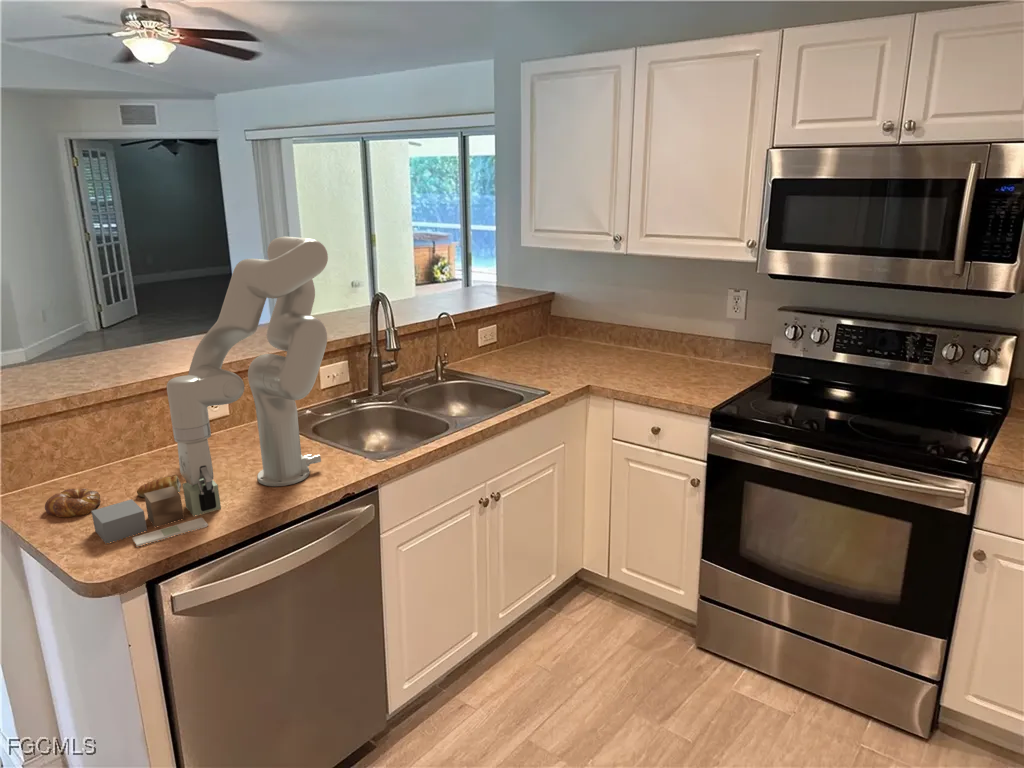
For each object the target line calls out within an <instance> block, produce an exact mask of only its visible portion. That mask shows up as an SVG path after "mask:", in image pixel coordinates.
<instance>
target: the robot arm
mask: <svg viewBox="0 0 1024 768" xmlns="http://www.w3.org/2000/svg"><path fill="white" fill-rule="evenodd" d="M266 252H267V253H266V254H267V258H268V259H262V258H245V259H242V260H241V261H239V262H238V263H237V264H236V265H235V267H234V268H233V272H232V274H231V278H230V280H229V284H228V288H227V290H226V294H225V297H224V300H223V303H222V306H221V310H220V313H219V314H218V315H219V316H218V318H217V321H216V322H215V323H214V324H213V325H212V326H211V327H210V329H208V331H207V332H206V334H205V335H204V336H203V337H202V339H201V340H200V342H199V343H198V344H197V346H196V349H195V351H194V354H193V356H192V360H191V362H190V365H189V368H188V369H189V370H188V374H187V375H180V376H175V377H173V378H171V379H169V380H168V381H167V383H166V394H167V400H168V406H169V413H170V420H171V425H172V432H173V440H174V442H175V443H177V454H178V463H179V473H180V475H181V476H182V478H184V480H185V483H187V482H188V483H189V484H190V485H192V486H194V485H195V484H197V485H198V488H199V491H200V494H199V500H200V507H201V510H202V511H206V510H209V509H213V508H216V500H215V493H214V488H213V485H212V480H213V481H214V469H213V468H214V467H213V463H212V456H211V455H212V454H211V451H210V445H209V442H208V441H209V440H208V439H209V438H211V436H212V431H211V423H210V418H209V417H210V416H209V408H208V407H212V406H221V405H222V406H223V405H229V404H233V403H235V402H236V401H238V400H239V399H240V398H241V397H242V396H243V394H244V392H245V383H244V380H243V379H242V377H241V376H239V374H237V373H235V372H233V371H230V370H227V369H223V368H222V366H223V364H224V361H225V358H226V357H227V355H228V353H229V351H230V350H231V349H232V348H233V347H234V346H235V345H236V344H237V343H239V342H241V341H244V340H245V339H247V338H249V337H250V336H252V335H254V334H255V333H256V332H257V330H258V327H259V324H260V321H261V317H262V314H263V311H264V308H265V304H266V301H267V299H276V300H275V305H274V307H273V310H272V314H271V317H270V319H269V323H268V327H267V330H266V339H267V342H268V343H269V345H270V346H272V347H273V348H275V349H277V350H280V351H284V352H286V354H285V356H283V355H279V354H274V353H265V354H261V355H259V356H256V357H255V358H254V359H253V360H252V361H251V363H250V364H249V366H248V370H247V379H248V384H249V388H250V390H251V394H252V398H253V401H254V407H255V412H256V413H255V414H256V423H257V430H258V438H259V445H260V446H259V447H260V454H261V455H260V457H261V463H262V464H261V465H262V469H261V470H260V471H259V472H258V473H257V475H256V477H257V482H258V483H259V484H261V485H264V486H266V487H267V486H268V487H285V486H290V485H294V484H297V483H300V482H302V481H304V480H305V479H307V478H308V477H309V476H310V474H311V473H310V466H311V465H312V464H317V463H321V462H322V457H321V455H320V454H317V455H312V454H311V453H310V454H306V455H303V454H302V447H301V437H300V428H299V418H298V416H299V415H298V408H297V403H296V401H299V400H302V399H304V398H305V397H307V396H308V395H309V394H310V392H311V391H312V389H313V388H314V385H315V383H316V382H317V381H316V380H317V377H318V375H319V370H320V368H321V365H322V362H323V358H324V355H325V352H326V348H327V343H328V332H327V329H326V326H325V325H324V323H323V322H322V321H321V320H320V319H318V318H317V317H315V316H312V311H313V307H314V303H315V297H316V288H315V283H314V280H313V279H314V278H315V277H317V276H319V275H320V274H321V273H322V272H323V271H324V270H325V268H326V266H327V264H328V260H329V256H328V255H329V254H328V251H327V249H326V247H325V246H324V244H323V243H322V242H321V241H319V240H317V239H314V238H309V237H295V236H281V237H276V238H274V239H273V240H271V241H270V243H269V244H268V246H267V251H266ZM200 479H204V480H201V481H199V480H200ZM202 484H205V485H204V486H203V488H202Z"/></svg>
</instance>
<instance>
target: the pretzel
mask: <svg viewBox="0 0 1024 768" xmlns="http://www.w3.org/2000/svg"><path fill="white" fill-rule="evenodd" d="M100 505H101V494H100V492H98V491H97V490H90V489H89V488H68V489H64V490H63V491H61V492H59V493H55V494H53V495H52V496H50V497H49V498H48V499H46V501H45V504H44V510H45V512H46V513H47V514H48V515H50V516H57V517H59V518H60V517H61V518H64V519H66V518H72V517H76V516H77V517H82V516H86V515H89V514H90V513H91V514H92V512H91V511H93V510H96V507H99V506H100Z"/></svg>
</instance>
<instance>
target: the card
mask: <svg viewBox="0 0 1024 768" xmlns="http://www.w3.org/2000/svg"><path fill="white" fill-rule="evenodd" d="M207 526H208V527H209V524H208V523H207V521H205V519H204V518H203V517H198V518H195V519H192V520H189V521H185V522H181V523H178V524H175V525H171V526H168V527H164V528H161V529H157V530H153V531H150V532H147V533H146V532H145V533H144V534H143V533H142V534H140V535H139V534H138V535H135V536H131V537H132V541H133V543H134V542H135V543H134V544H136V545H135V547H137V546H141V545H143V544H146V543H150V542H154V541H157V542H159V541H158V540H161V541H163V540H162V539H164V540H166V539H165V538H168V537H171V536H174V535H178V534H181V533H184V534H186V533H185V532H188V531H191V532H193V531H192V530H194V531H197V530H196V529H198V530H201V529H204V528H207ZM200 528H201V529H200ZM188 533H189V532H188ZM181 535H182V534H181ZM178 536H179V535H178ZM174 537H175V536H174ZM171 538H172V537H171ZM168 539H169V538H168ZM154 543H155V542H154ZM141 547H142V546H141Z"/></svg>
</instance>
